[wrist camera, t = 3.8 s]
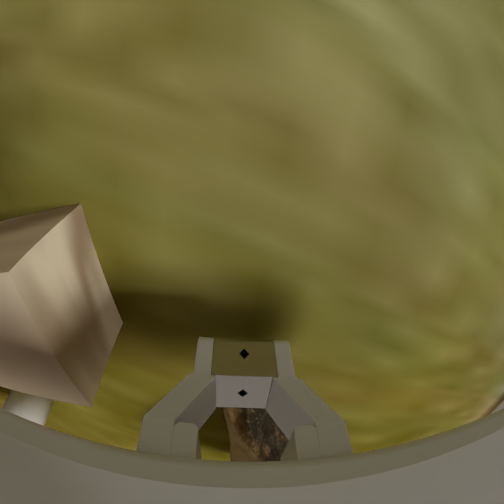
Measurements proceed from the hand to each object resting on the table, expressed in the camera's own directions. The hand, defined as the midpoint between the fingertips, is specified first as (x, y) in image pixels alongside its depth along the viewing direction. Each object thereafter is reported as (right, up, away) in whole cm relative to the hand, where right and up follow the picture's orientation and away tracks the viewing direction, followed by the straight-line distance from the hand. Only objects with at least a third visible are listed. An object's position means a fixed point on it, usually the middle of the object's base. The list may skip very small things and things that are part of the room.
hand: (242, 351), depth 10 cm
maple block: (-10, +2, +2) cm, 10 cm away
